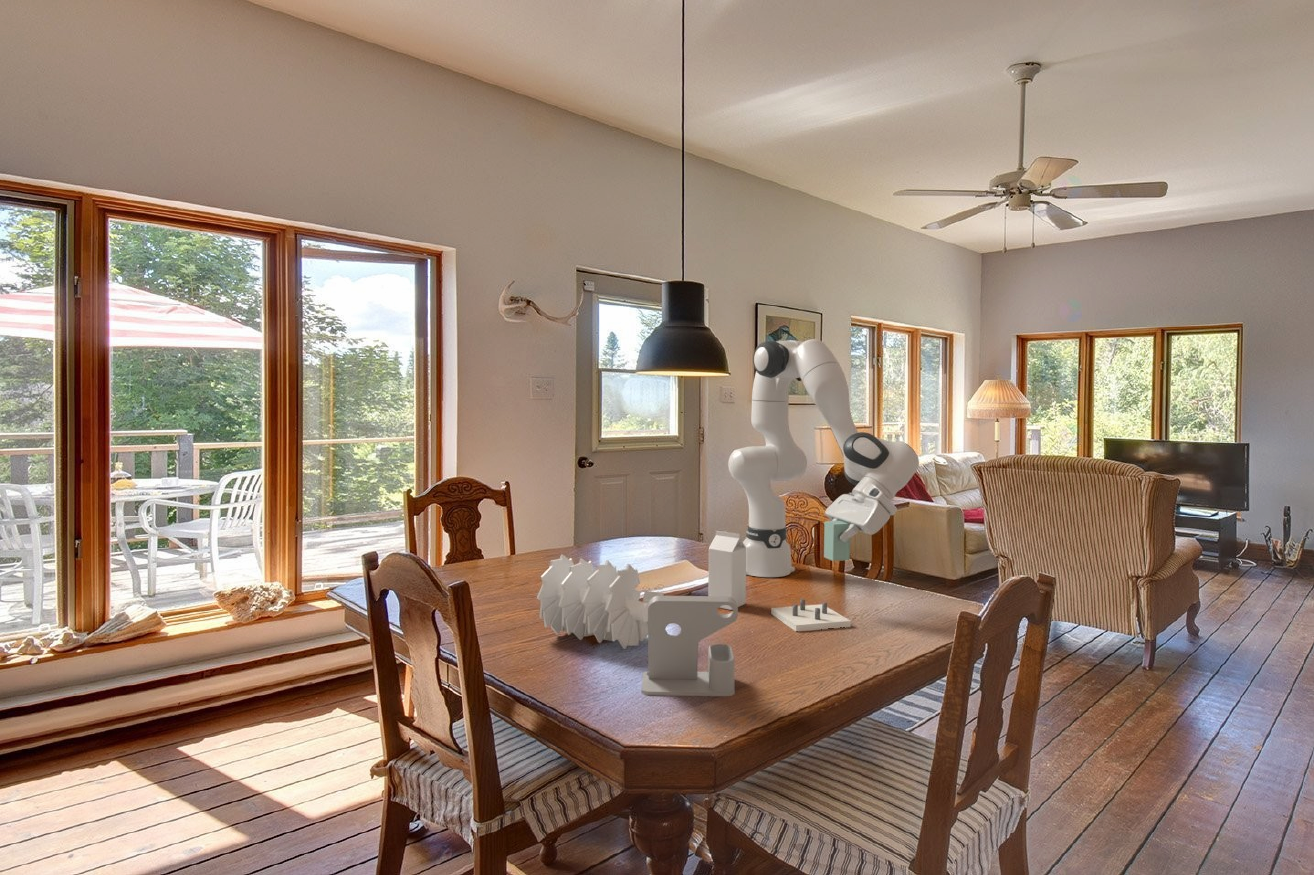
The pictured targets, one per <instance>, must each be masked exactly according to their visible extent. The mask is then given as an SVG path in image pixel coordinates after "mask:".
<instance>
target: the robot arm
mask: <svg viewBox="0 0 1314 875" xmlns="http://www.w3.org/2000/svg"><path fill="white" fill-rule="evenodd" d="M752 363H753V367H754V369H755V374H754V379H753V384H752V390H751V391H752V392H751V418H750V419H751V420H750V423H751V426H752V428H754V430H755V431H756V432H758V433H760V434H761V435H762V436H763V437H764V438H763V439H764V440H765V445H760V446H759V445H755V446H752V445H751V446H744V447H741V448H738V449H734V450H733V452H731V454H730V455H729V457H728V462H727V467H728V471H729V474H730V475H731V478H733V479H734V480H735V481H736V482H737V483H739V485H740V486H741V487H742V488H743V490H744V493H745V496H746V498H747V503H748V525H747V526H746V527H747V528H746V534H745V539H744V540H743V541H742V542H743V544H744V545H745V546H746V576H752V577H753V576H754V577H759V578H780V577H781V578H782V577H785V576H788V575H790V574H791V573H793V572H795V571H796V568H795V566H792V556H791V555H792V554H791V545H790V544H789V543H788V542H787V536H788V531H787V530H788V529H787V527H786V507H787V506H786V503H785V500H784V499H783V498H782V497H781V496H779V495H778V494H776V493H774V491H773V490H772V486H771V483H773V482H787V481H792V480H793V481H794V480H795V479H798V478H799V479H800V478H801V477H803V476H804V474H805V473H806V470H807V467H808V459H807V456H806V454H805V452H804V451H803V449H801V447H799V446H798V445H797V443H796V442H795V441H794V439H793V437H792V434H791V431H790V425H789V402H790V401H789V398H790V397H789V395H790V394H789V393H790V391H789V389H790V385H791V383H792V381H794V380H797V381H798V382H802V384H803V386H804V389H805V390H806V392H807V394H808V396H810V399H811V400H812V402H813V403H814V404H815V406H816V407H817V409H818V411H819V412H820V413H821V415H822V416H823V418H824V420H825V422H826V423H827V424H828V426H829V429H830V430H831V432H832V434H833V436H834V439H835V440H836V443H837V445H838V448H839V450H840V452H841V454H842V458H843V473H844V476H845V478H846V480H847V481H848V482H849V483H850V484H851V485H853V486H855V487H853V489H852V491H851V492H848V493H843V494H841V495H840V496H838V497H837V498H836V499H835V500H834V501H833V502H832V503H831V504H830V505H829V506H828V507H826V509H825V511H824V515H825V516H826V517H827V518H828V519H829V521H844V522H847V523H850V526H849V528H848V529H847V530H846V531H844V532H841V533H840V535H838V539H839V540H840V541H842V542H846V541H847V540H848V539H849V538H850V539H851V538H852V537H854V536H856V535H857V534H858V533H859V532H861V533H864V534H868V535H870V536H873V535H874V534H877V533H878V532H880V530H881V529H882V528H883V527H884V526H885V524H886V523H887V522H888V521H889V519H890V517H891V516H894V515H895V514H896V513H897V512H898V508H897V507H896V506H895V504H894V503H893V502H892V501H893V500H894V499H895V496H896V495H897V493H898V492H899V491H901V490H902V489H903V488H904V487H906V485H907V484H908V483H909V481H910V480H911V479H912V478H913V476H914V475H915V473H916V472H917V470H918V468H919V465H920V460H919V456H918V455H917V453H916V451H915V450H914V449H913V448H912V447H911V446H910V445H909V444H908V443H906V442H904V441H899V440H898V441H890V440H885V439H882V438H879V437H877V436H875V435H874V434H871V433H869V432H866V431H865V432H863V431H861V432H859V431H858V429H857V426H856V425H855V422H854V420H853V417H852V412H851V405H850V403H851V402H850V393H849V392H850V391H849V386H848V385H849V384H848V381H847V378H846V374H845V373H844V371H843V368H842V366H841V365H840V362H839V361H838V359H837V358H836V356H835V354H834V353H833V352H832V351H831V349H830V348H829V347H828V346H827V345H826V343H825V342H823V341H822V340H820V339H817V338H811V339H807V340H805V341H801V340H795V339H794V340H793V339H790V340H789V339H788V340H776V341H775V340H767V341H763V342H760V344H758V345H757V346H756V348H755V350H754V352H753V357H752Z"/></svg>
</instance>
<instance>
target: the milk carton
mask: <svg viewBox="0 0 1314 875" xmlns="http://www.w3.org/2000/svg"><path fill="white" fill-rule="evenodd" d="M740 537H741V534H740V533H734V532H727V531H720V530H719V531H718V530H716V531H715V536H714V538H713V540H712V542H711V543H710V545H709V547H708V575H707V576H708V585H707V587H708V590H707V591H708V593H707V594H708V595H707V596H726V597H731V598H733V599H734V600H735V601H736V603H737V608H739V607H741V606H744V605H745V604H746V603H747V601H746V600H747V599H746V598H747V591H746V590H747V584H746V583H747V575H746V546H745V545H744V544H743V541H742V539H741V538H740ZM718 609H724V610H730V611H733V609H732V607H730V606H728V605H722V606H720V607H719V608H718Z"/></svg>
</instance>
